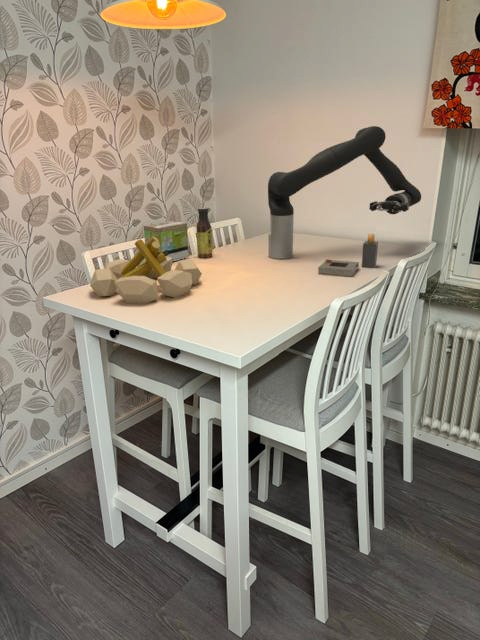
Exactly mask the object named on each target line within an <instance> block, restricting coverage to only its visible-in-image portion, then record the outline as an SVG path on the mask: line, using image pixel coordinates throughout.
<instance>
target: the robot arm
mask: <svg viewBox="0 0 480 640" xmlns="http://www.w3.org/2000/svg"><path fill="white" fill-rule="evenodd" d="M386 138H387V137H386V131H385V130H384V129H383V128H382V127H380V126H377V125H375V126H374V125H372V126H368V127H364V128H361V129H359V130H358V131H357V132H356V134H355V136H354V138H352V139H350V140H346V141H342V142H340V143H338V144H337V143H336V144H334V145H331V146H329V147H327V148H325V149H324V150H321V151H319V152H317V153H316V154H315V155H314V156H313V157H311V158H310V159H309V160H308V161H307V162H306V163H304V165H303V166H301V167H299V168H297V169H293V170H291V171H288V172H284V171H277V172H274V173H273V174H271V175H270V177H269V179H268V182H267V198H268V199H267V202H268V207H269V212H270V217H269V219H270V223H269V224H270V225H269V227H270V229H269V230H270V233H269V234H268V258H271V259H272V258H273V259H275V260H276V259H277V260H286V259H291V258H293V257H294V217H295V216H294V213H295V212H294V206H293V204H292V203H291V201H290V197H291V196H292V197H293V195H295V194H296V193H298V192H300V191H301V190H303V188H305V187H307V186H309V185H310V184H312V183H314V182H316V181H319V180H321V179H322V178H325V177H326V176H328V175H330V174H332V173H334V172H336V171H337V170H340V169H341V168H343V167H345V166H347V165H348V164H350V163H351V162H353V161H355V160H356V159H357V158H360V157H361V156H364V157H365V158H367V160H368V161H369V162H370V163H371V164H372V166H373V167H374V168H375V169H376V170H377V171H378V172H379V173H380V174H381V176H382V178H383V179H384V181H385V182H386V184H387V185H388V186H389V188H390V189H391V191H393V192H395V193H394V194H392V195H389V196H387V197H386V198H385V199H384V201H376V200H375V201H373V202H372V201H371V202H370V203H369V210H370V211H371V212H374V211H379V212H383V211H384V212H386V213H387V214H389V215H397V214H398V213H401V212H403V213H404V212H407V211H409V210H410V209H409V208H411V207H412V206H414V205H416V204H418V203H420V202H421V200H422V193H421V191H420V190H419V188H418V187H416V186H415V185H413V184H412V183H411V182H410V181H409V180H408V179H407V178H406V177H405V175H404V174H403V172H402V171H401V169H400V168H399V167H398V165H397V164H395V163H394V162H393V161H392V160H391V159H390V158H388V157H387V156H386V155H385V154H384V153H383V151H381V149H380V148H382V146H383V145H384V143H385V140H386ZM400 191H402V192H400ZM396 192H397V193H396Z"/></svg>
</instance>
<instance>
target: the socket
mask: <svg viewBox="0 0 480 640" xmlns="http://www.w3.org/2000/svg"><path fill="white" fill-rule="evenodd" d="M359 264H360V262H359V261H350V260H334V259H330V258H329V259H325V260H324V261H323V262H322V263H321V264H320V265H319V266H318V268H317V269H318V270H317V274H318V275H326V276H336V277H346V278H352V277H353V276H354V275H355V274H356V273H357V271H358V270H359V268H360V267H359Z"/></svg>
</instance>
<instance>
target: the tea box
mask: <svg viewBox="0 0 480 640" xmlns="http://www.w3.org/2000/svg"><path fill="white" fill-rule="evenodd" d="M143 235H144V243H145V244H146V243H147V241H148V240H149V239H150V238H151V237H152V236H154V237H156V238H157V239H158V240H159V244H160V249H159V252H158V254H160V253H163V254H164V255H165V256H166V257H171V258H172V263H174V262H176V261H178V262H179V261H181V260H180V259H182V260H185V259H189V241H188V223H186V222H180V221H172V220H168V221H163V222H157V223H152V224H145V225H143ZM158 254H157V255H158ZM184 258H185V259H184ZM173 261H174V262H173Z"/></svg>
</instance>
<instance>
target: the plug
mask: <svg viewBox="0 0 480 640" xmlns="http://www.w3.org/2000/svg"><path fill="white" fill-rule="evenodd" d="M375 237H376V236H375V233H368V234H367V240H365V241H364V242H363V244H362V256H361V257H362V258H361V268H364V269H365V268H367V269H375V268H376V267H377V259H378V247H379V242H378V241H375Z"/></svg>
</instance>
